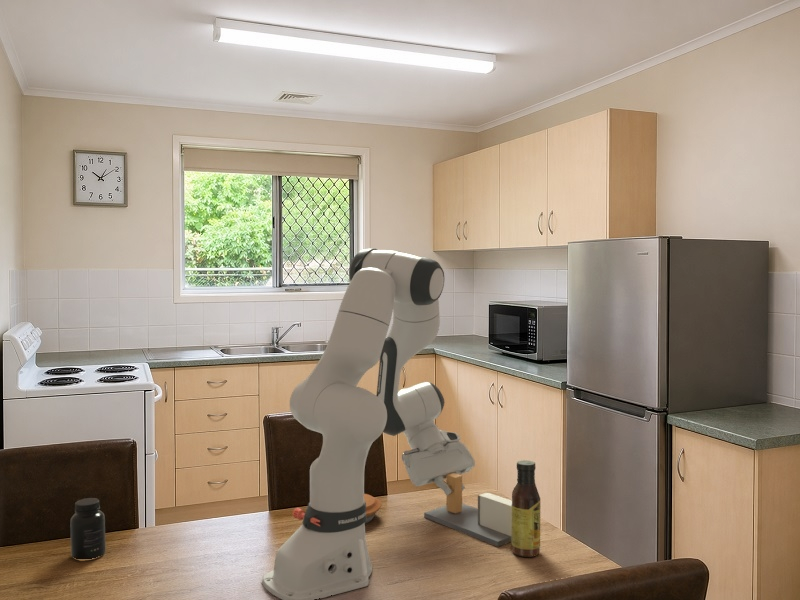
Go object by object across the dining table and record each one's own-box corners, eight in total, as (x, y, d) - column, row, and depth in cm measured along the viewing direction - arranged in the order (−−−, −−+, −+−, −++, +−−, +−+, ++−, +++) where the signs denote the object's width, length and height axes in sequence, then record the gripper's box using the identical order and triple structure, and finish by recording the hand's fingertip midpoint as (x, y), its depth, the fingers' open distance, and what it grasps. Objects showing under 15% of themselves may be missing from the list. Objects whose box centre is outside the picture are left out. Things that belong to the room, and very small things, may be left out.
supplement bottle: (66, 555, 149) (64, 501, 148) (97, 546, 154) (96, 493, 153) (79, 565, 144) (77, 509, 143) (111, 555, 149) (109, 500, 148)
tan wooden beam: (455, 513, 170) (455, 477, 169) (446, 510, 172) (446, 474, 171) (462, 511, 171) (462, 475, 171) (453, 507, 173) (453, 472, 173)
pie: (306, 519, 170) (305, 500, 170) (350, 503, 182) (350, 484, 181) (350, 535, 160) (350, 514, 160) (394, 517, 172) (394, 497, 171)
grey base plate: (498, 546, 153) (498, 510, 153) (424, 517, 171) (424, 484, 171) (531, 532, 161) (531, 498, 161) (457, 506, 179) (457, 475, 179)
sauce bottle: (540, 559, 146) (541, 468, 145) (510, 557, 148) (511, 466, 147) (540, 547, 153) (541, 459, 152) (511, 545, 154) (512, 457, 153)
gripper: (404, 445, 169) (432, 494, 162) (462, 432, 182) (489, 477, 176) (393, 459, 173) (419, 508, 166) (450, 445, 186) (476, 489, 179)
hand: (456, 492), depth 171 cm, fingers closed on tan wooden beam, 2 cm apart
